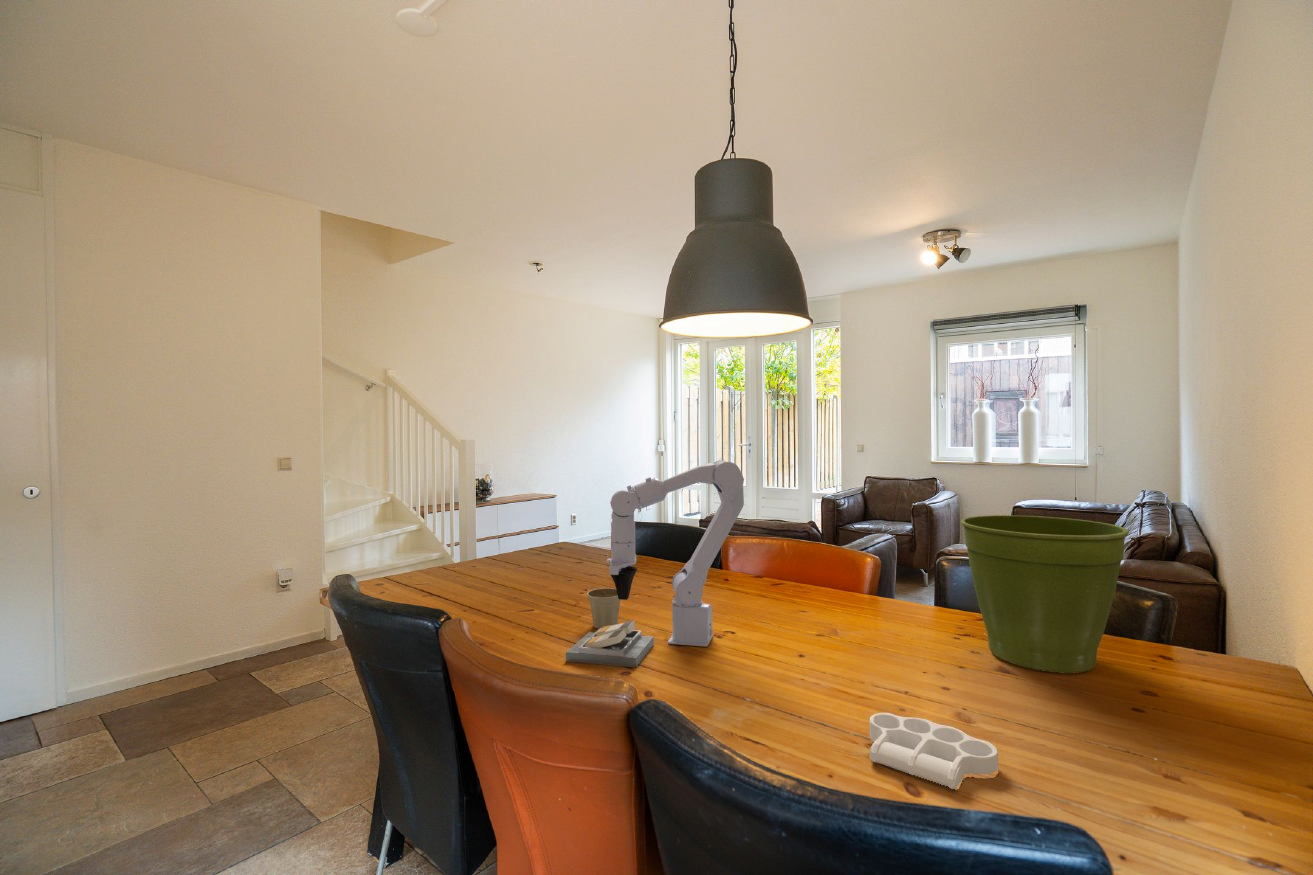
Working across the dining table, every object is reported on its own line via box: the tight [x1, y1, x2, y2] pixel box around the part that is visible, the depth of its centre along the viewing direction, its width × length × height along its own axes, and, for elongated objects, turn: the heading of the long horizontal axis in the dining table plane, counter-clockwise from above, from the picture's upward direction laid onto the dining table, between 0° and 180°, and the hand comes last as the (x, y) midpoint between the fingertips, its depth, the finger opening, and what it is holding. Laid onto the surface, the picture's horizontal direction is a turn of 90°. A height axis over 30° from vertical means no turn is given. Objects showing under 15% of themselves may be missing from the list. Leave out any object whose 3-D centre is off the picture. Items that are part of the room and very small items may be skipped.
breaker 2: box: [596, 620, 637, 636], centre depth 137 cm, size 8×4×2 cm, turn 75°
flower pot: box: [586, 587, 622, 630], centre depth 153 cm, size 9×9×9 cm
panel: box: [565, 628, 655, 668], centre depth 133 cm, size 16×14×3 cm
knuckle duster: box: [868, 712, 999, 791], centre depth 88 cm, size 3×18×15 cm
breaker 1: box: [585, 629, 626, 648], centre depth 130 cm, size 8×4×2 cm, turn 75°
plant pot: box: [960, 514, 1129, 674], centre depth 126 cm, size 30×30×29 cm
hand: (623, 598), depth 140 cm, fingers closed
